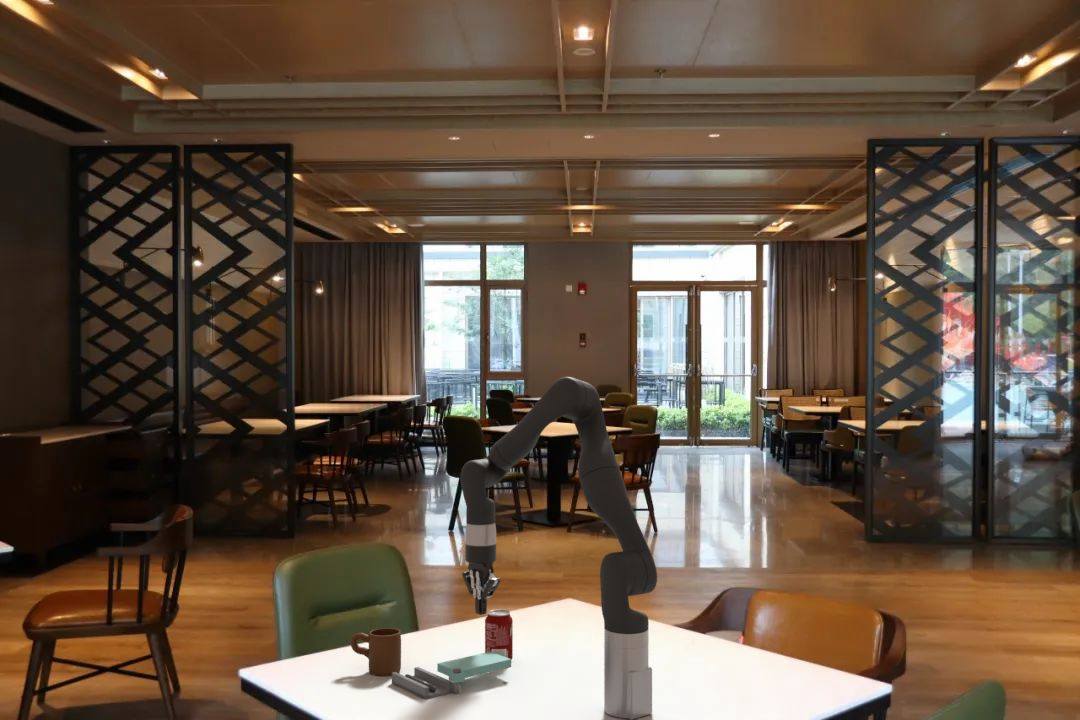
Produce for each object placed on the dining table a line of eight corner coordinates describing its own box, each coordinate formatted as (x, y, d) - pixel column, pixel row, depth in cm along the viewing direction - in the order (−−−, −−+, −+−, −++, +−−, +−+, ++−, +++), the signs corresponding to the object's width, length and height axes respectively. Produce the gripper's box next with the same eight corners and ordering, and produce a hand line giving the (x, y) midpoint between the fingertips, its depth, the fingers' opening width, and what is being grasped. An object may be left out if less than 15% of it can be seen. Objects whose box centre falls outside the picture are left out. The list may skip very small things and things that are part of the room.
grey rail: (461, 692, 213) (461, 681, 213) (428, 701, 208) (428, 689, 208) (423, 676, 225) (423, 665, 225) (391, 683, 220) (391, 672, 220)
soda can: (509, 666, 233) (509, 616, 233) (482, 664, 234) (482, 615, 235) (514, 658, 240) (514, 609, 240) (488, 656, 241) (488, 608, 241)
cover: (455, 683, 212) (455, 672, 212) (431, 672, 219) (431, 662, 219) (515, 668, 222) (515, 658, 222) (490, 659, 230) (490, 649, 230)
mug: (346, 676, 225) (347, 636, 225) (353, 666, 233) (353, 627, 233) (398, 676, 225) (398, 636, 225) (403, 667, 232) (403, 627, 233)
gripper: (509, 543, 231) (509, 616, 231) (477, 537, 241) (477, 606, 241) (484, 547, 226) (484, 621, 226) (452, 540, 237) (452, 611, 236)
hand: (480, 613), depth 233 cm, fingers closed
